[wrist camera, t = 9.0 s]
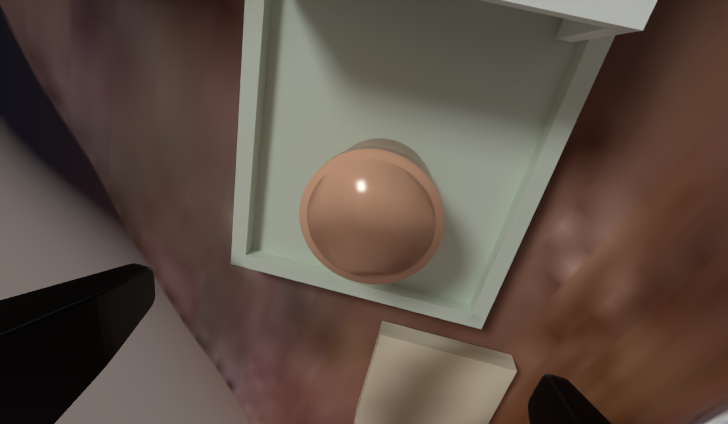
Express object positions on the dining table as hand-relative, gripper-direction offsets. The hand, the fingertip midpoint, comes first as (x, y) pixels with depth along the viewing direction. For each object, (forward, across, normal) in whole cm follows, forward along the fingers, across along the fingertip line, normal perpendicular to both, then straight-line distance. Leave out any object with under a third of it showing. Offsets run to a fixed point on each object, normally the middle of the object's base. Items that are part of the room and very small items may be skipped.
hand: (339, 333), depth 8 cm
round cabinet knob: (+10, 0, 0) cm, 10 cm away
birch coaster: (+11, -6, +13) cm, 18 cm away
